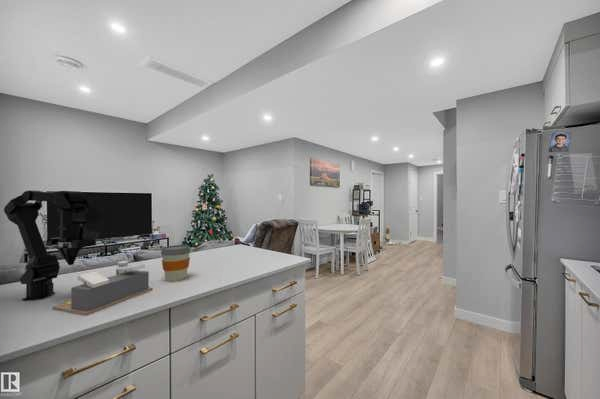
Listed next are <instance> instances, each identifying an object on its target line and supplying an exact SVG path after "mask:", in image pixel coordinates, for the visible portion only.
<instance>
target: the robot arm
mask: <svg viewBox="0 0 600 399" xmlns="http://www.w3.org/2000/svg"><path fill="white" fill-rule="evenodd" d="M29 201H30V202H29ZM32 201H34V202H32ZM42 202H48V203H54V204H55V205H56V206H57V205H58V206H60V207H59V208H57V209H56V212H57V213H60V226H58V227H57V230H58V231H60V237H49V238H47V240H45V243H44V241H43V237H42V235H41V233H40V232H41V231H40V230H39V227H38V224H37V219H38V217H39V214H40V212H39V211H40V210H41V208H43V203H42ZM3 212H4V214H5V215H6V217H7V219H8V221H10V222H11V223H13V224H14V225H17V228H18V231H19V233H20V236H21V239H22V241H23V245H24V247H25V250H26V254H27V256H28V258H29V259H28V261H27V263H26V266H25V272H24V273H23V274H22V275H21V277H19V281H20V284H21V285H26V288H25V290H26V293H25V296H26V297H24V298H22V299H21V300H22V301H28V300H30V301H31V300H42V299H44V298H47V297H49V296H51V295H52V296H53V294H56V291H54V282H53V279H57V278H58V275H59V273H60V269H61V266H60V261H59V260H58V256H57V255H56V254H52V255H51V254H49V253H48V251H47V248H46V247H53V246H56V247H55V249H56V250H57V251H58V252H59V253H60V254H61V256H62V258H64V260H65V262H66V263H67V264H68V265H69V266H73V265H74V263H75V261H76V259H77V257H78V254H79V252H80V251H81V250H82V249H83V248H87V247H93V246H94V247H95V246H96V245H97V239H98V238H99V237H98V236H99V235H100V232H98V231H93V230H89V229H87V228H86V227H85V225H94V224H97V223H98V222H99V221H100V220H101V216H102V215H101V212H100V211H99V210H98V209H96V205H91V203H90V202H89V200H88V198H87V196H86V195H85V194H84V192H83V191H77V190H76V191H74V190H59V191H55V192H53V191H42V190H29V189H28V190H25V191H23V193H21V195H19V196H16V197H14V198H12V199H10V201H9V202H7V204H6V205H5V206H4V208H3ZM83 224H84V225H83ZM57 245H58V246H57Z"/></svg>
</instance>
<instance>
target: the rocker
mask: <svg viewBox="0 0 600 399" xmlns="http://www.w3.org/2000/svg"><path fill="white" fill-rule="evenodd" d="M144 268H146V265H145V263H143V264H138V265H133V266H130V267H128V268H124V269H120V270H118V272H119V273H124V272H125V273H128V272H131V271H135V270H138V271H139V270H141V269H144Z"/></svg>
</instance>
